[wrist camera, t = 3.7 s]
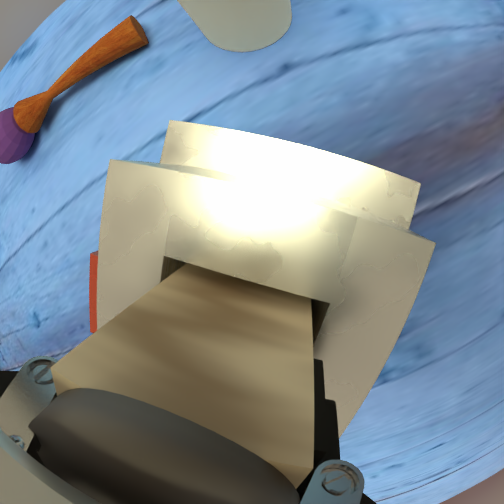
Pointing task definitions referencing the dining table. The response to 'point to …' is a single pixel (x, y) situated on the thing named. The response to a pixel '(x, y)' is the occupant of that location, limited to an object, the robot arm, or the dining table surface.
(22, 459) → the robot arm
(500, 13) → the dining table surface
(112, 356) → the lifting post
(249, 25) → the cylindrical container
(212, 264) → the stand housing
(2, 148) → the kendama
